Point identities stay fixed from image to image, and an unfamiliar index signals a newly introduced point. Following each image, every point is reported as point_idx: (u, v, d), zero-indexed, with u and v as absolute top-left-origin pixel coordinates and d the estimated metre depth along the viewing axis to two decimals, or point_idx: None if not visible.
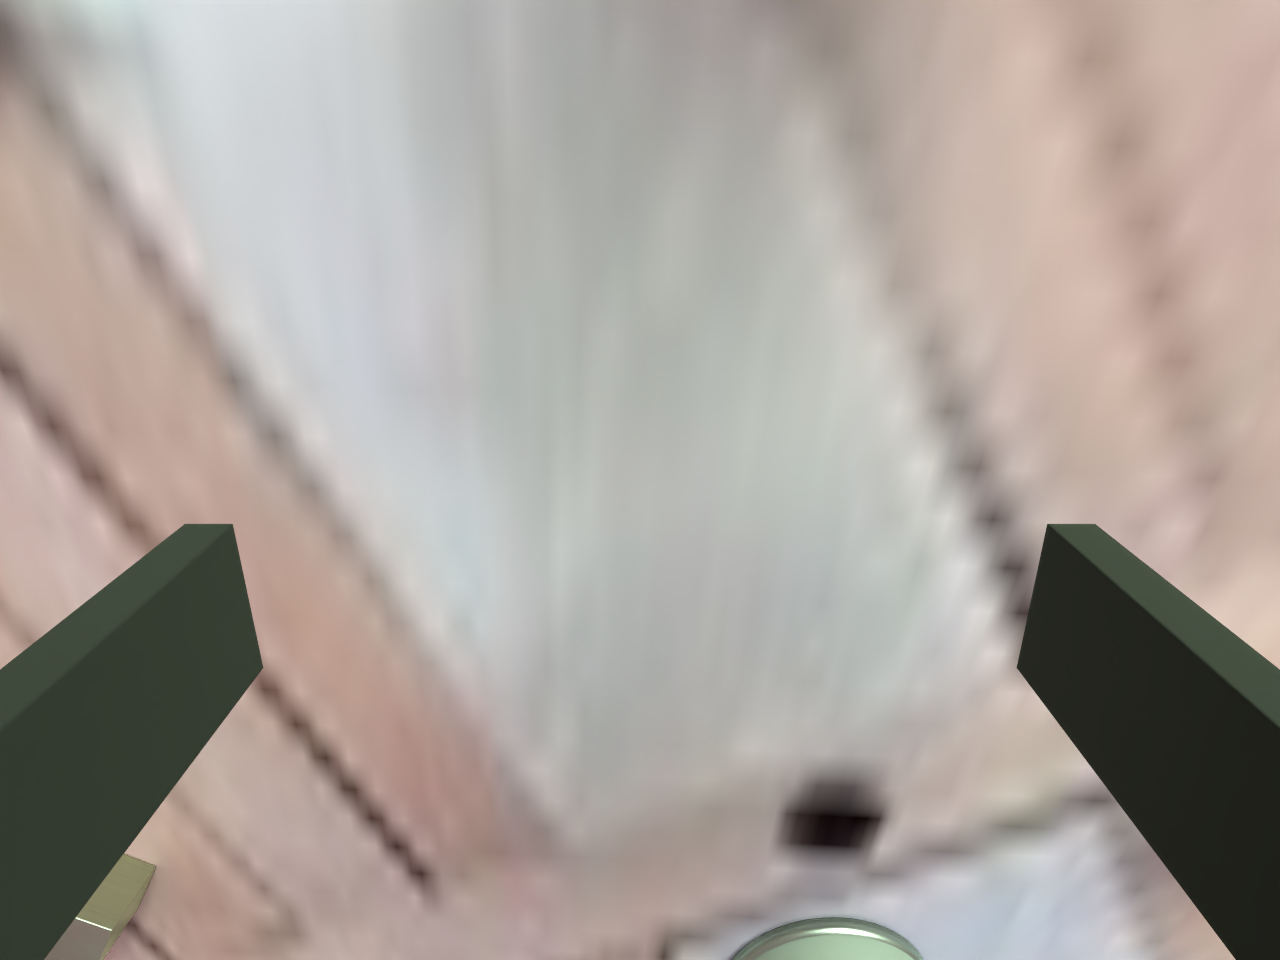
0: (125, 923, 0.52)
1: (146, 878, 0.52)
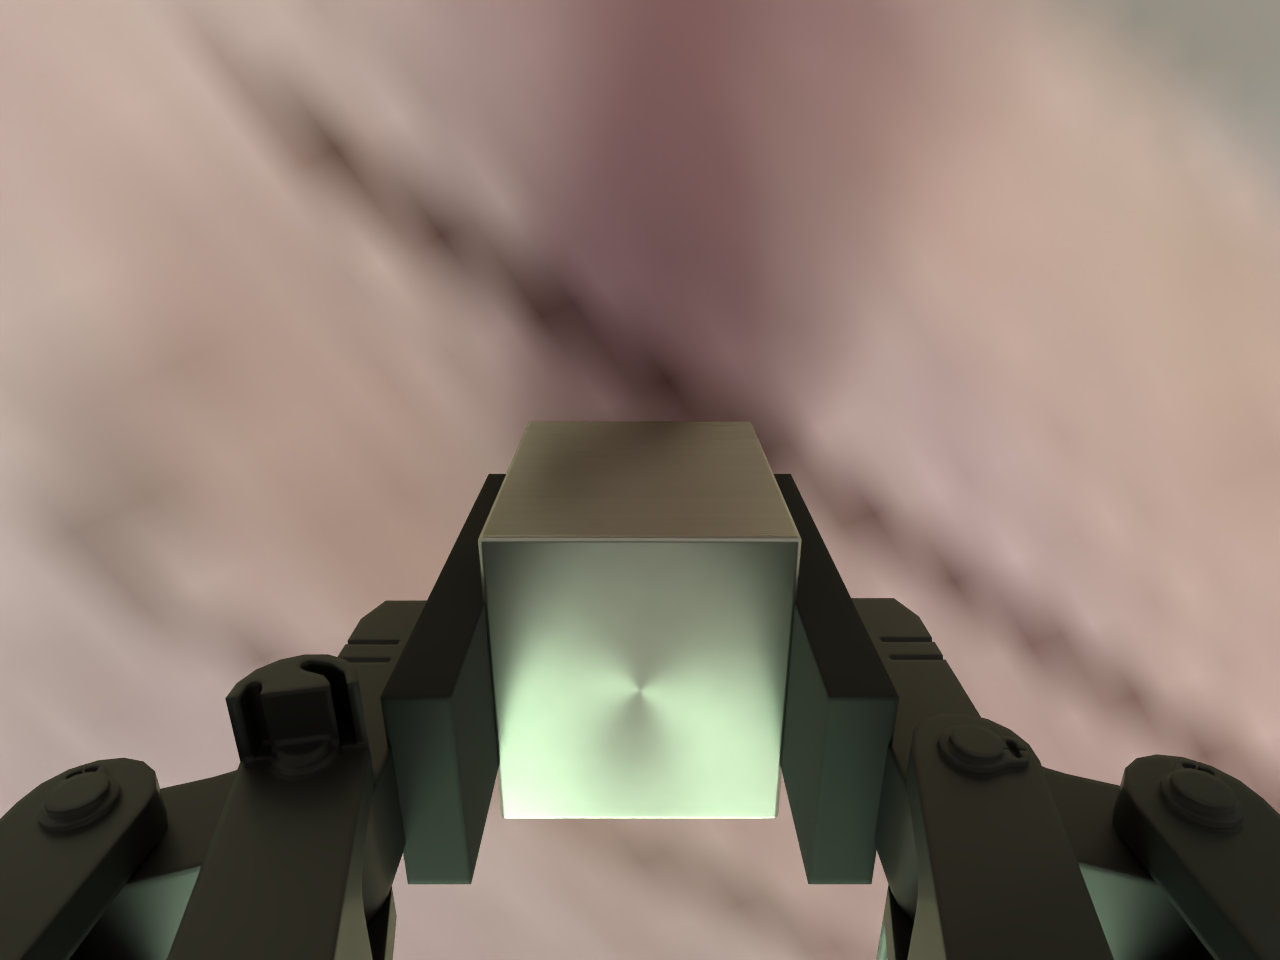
0: None
1: None
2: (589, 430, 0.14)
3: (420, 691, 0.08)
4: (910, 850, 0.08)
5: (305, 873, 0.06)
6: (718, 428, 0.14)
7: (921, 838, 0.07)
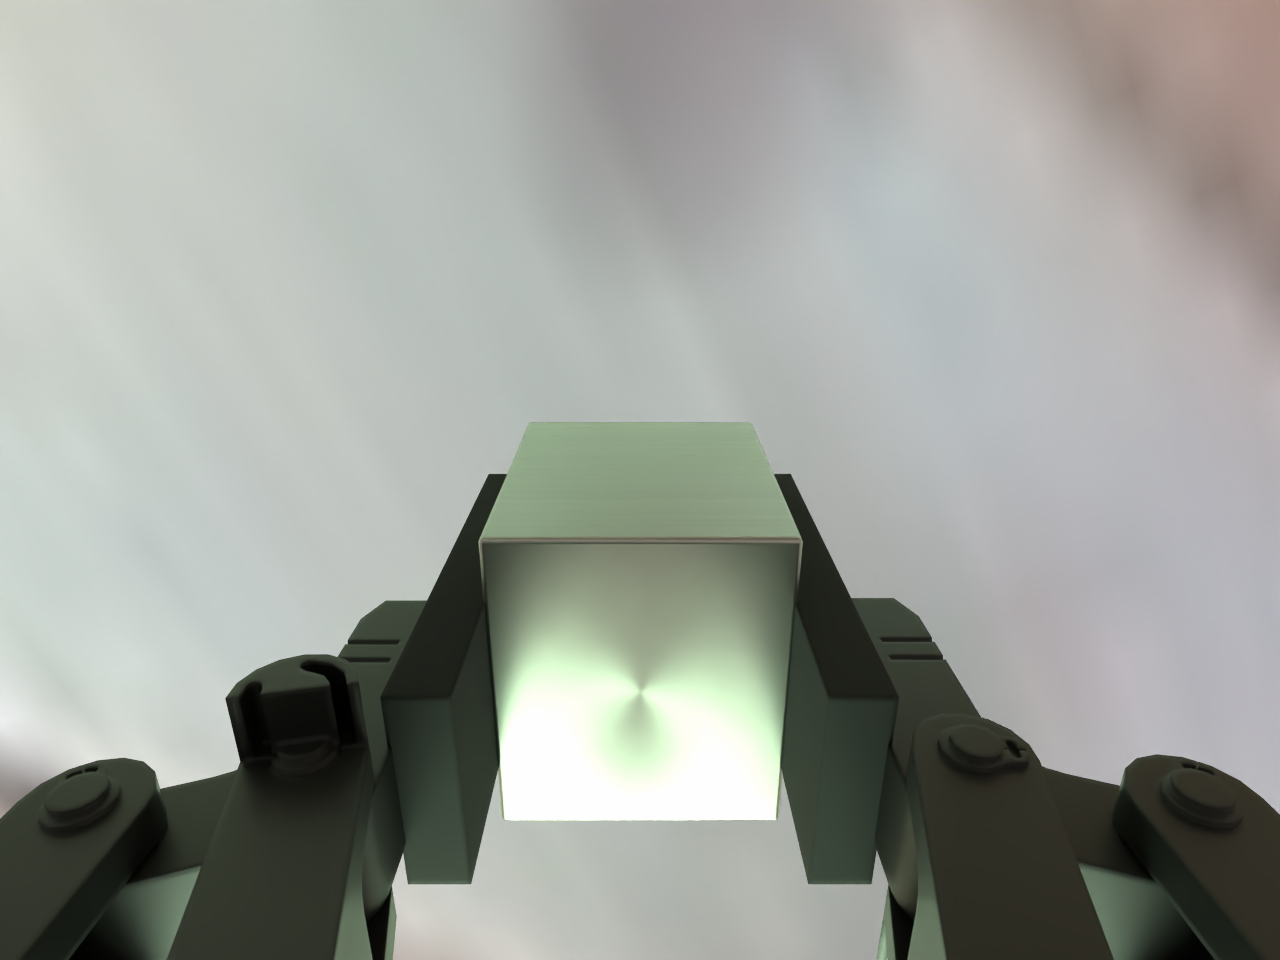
0: None
1: None
2: (589, 431, 0.14)
3: (420, 691, 0.08)
4: (910, 850, 0.08)
5: (305, 873, 0.06)
6: (719, 429, 0.14)
7: (921, 838, 0.07)
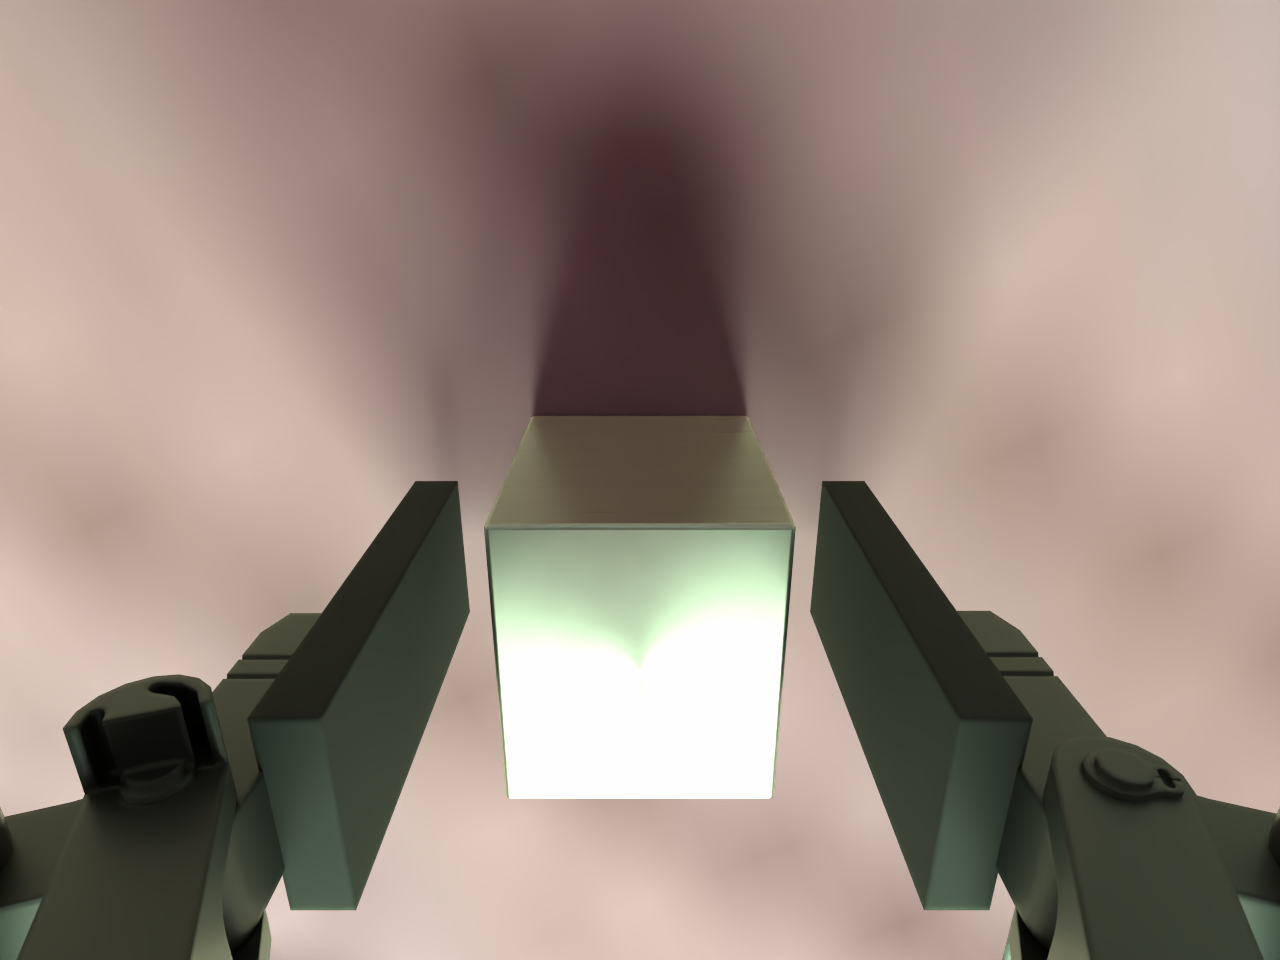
0: None
1: None
2: (590, 424, 0.14)
3: (290, 712, 0.08)
4: (1045, 873, 0.08)
5: (155, 901, 0.06)
6: (716, 422, 0.14)
7: (1063, 860, 0.07)
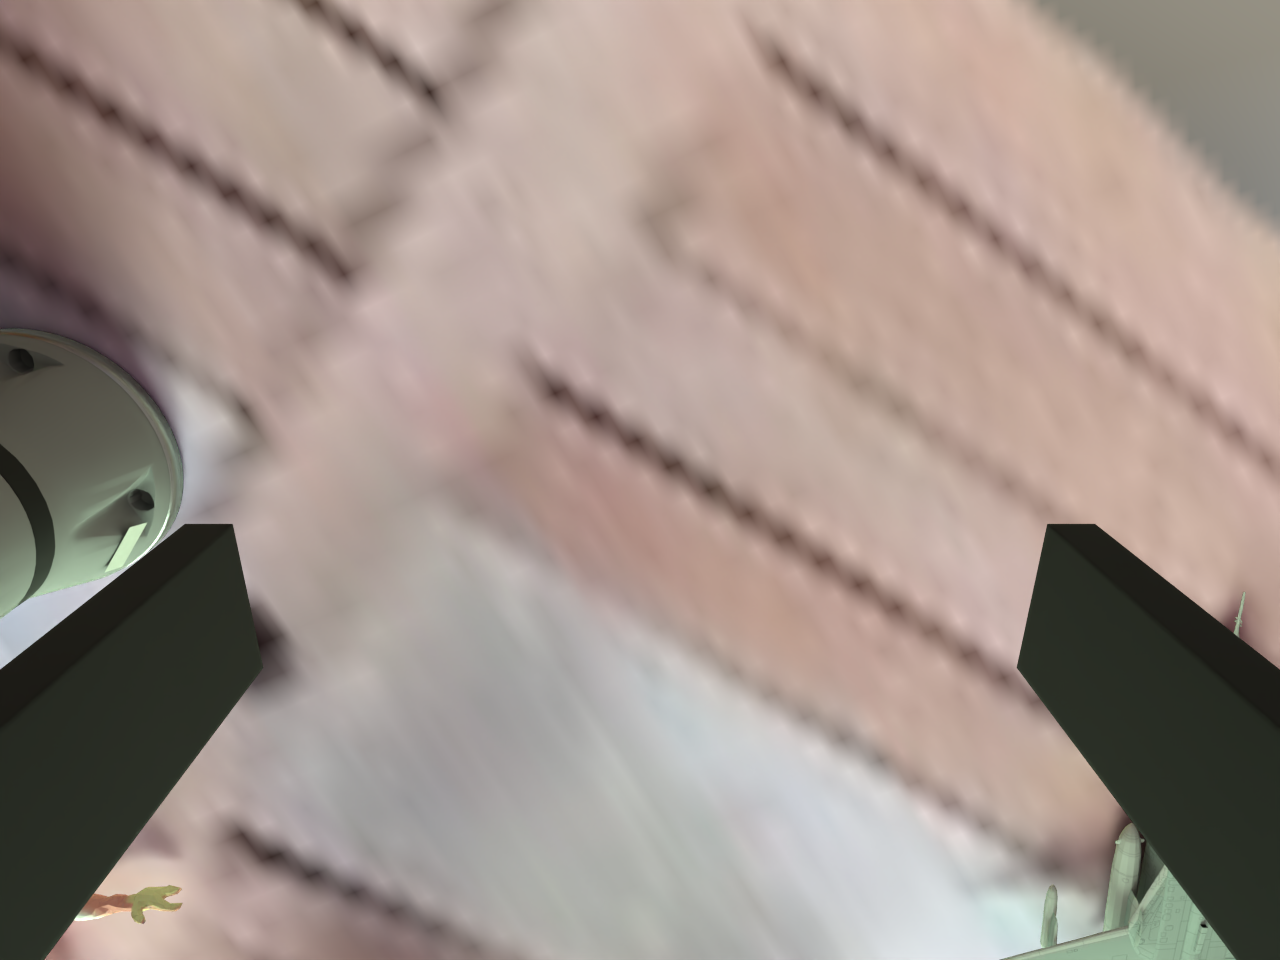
0: None
1: None
2: None
3: None
4: None
5: None
6: None
7: None
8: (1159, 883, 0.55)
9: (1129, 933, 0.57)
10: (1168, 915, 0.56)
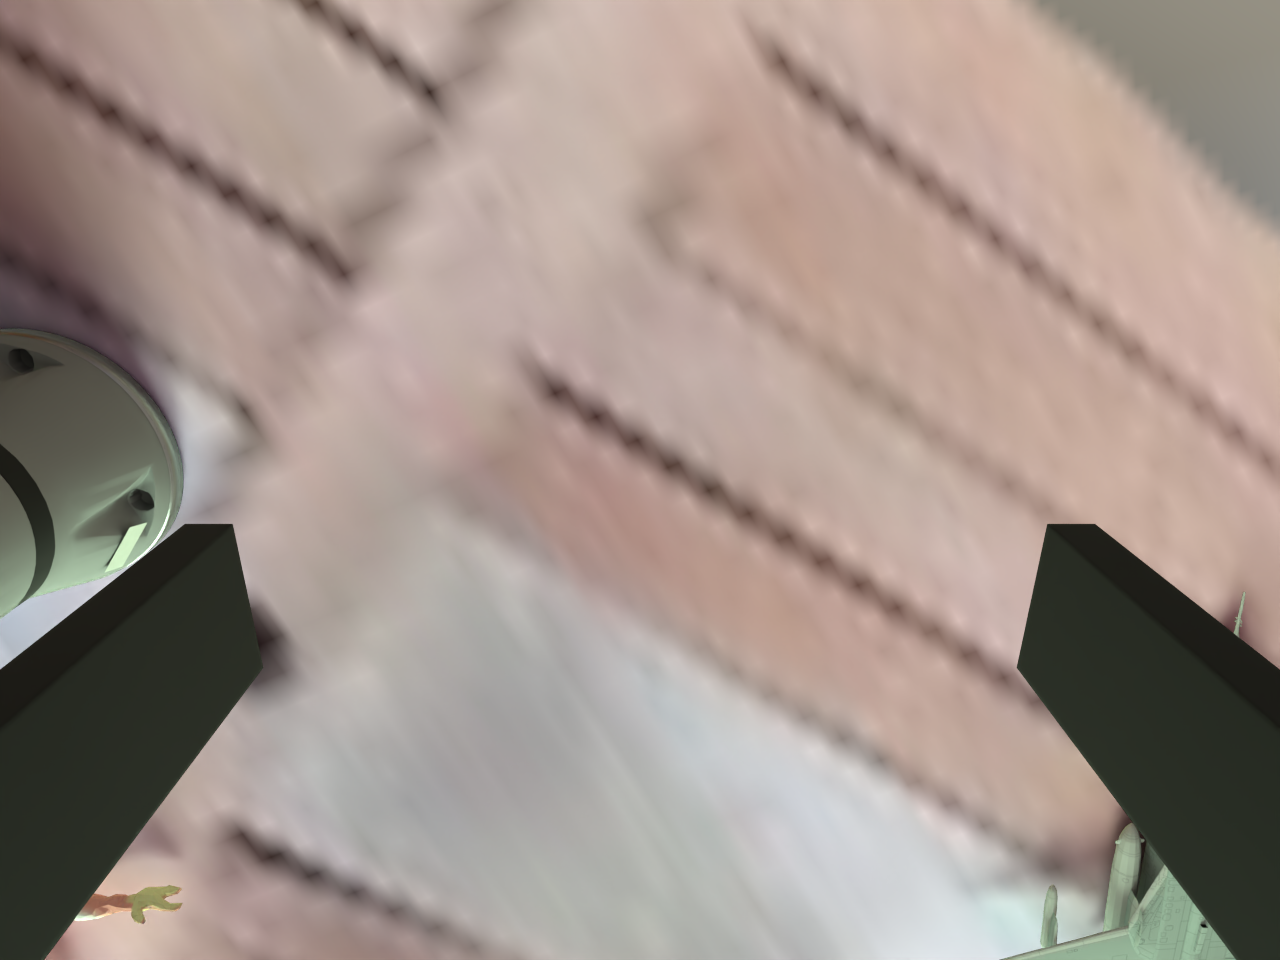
0: None
1: None
2: None
3: None
4: None
5: None
6: None
7: None
8: (1159, 883, 0.55)
9: (1129, 933, 0.57)
10: (1168, 915, 0.56)
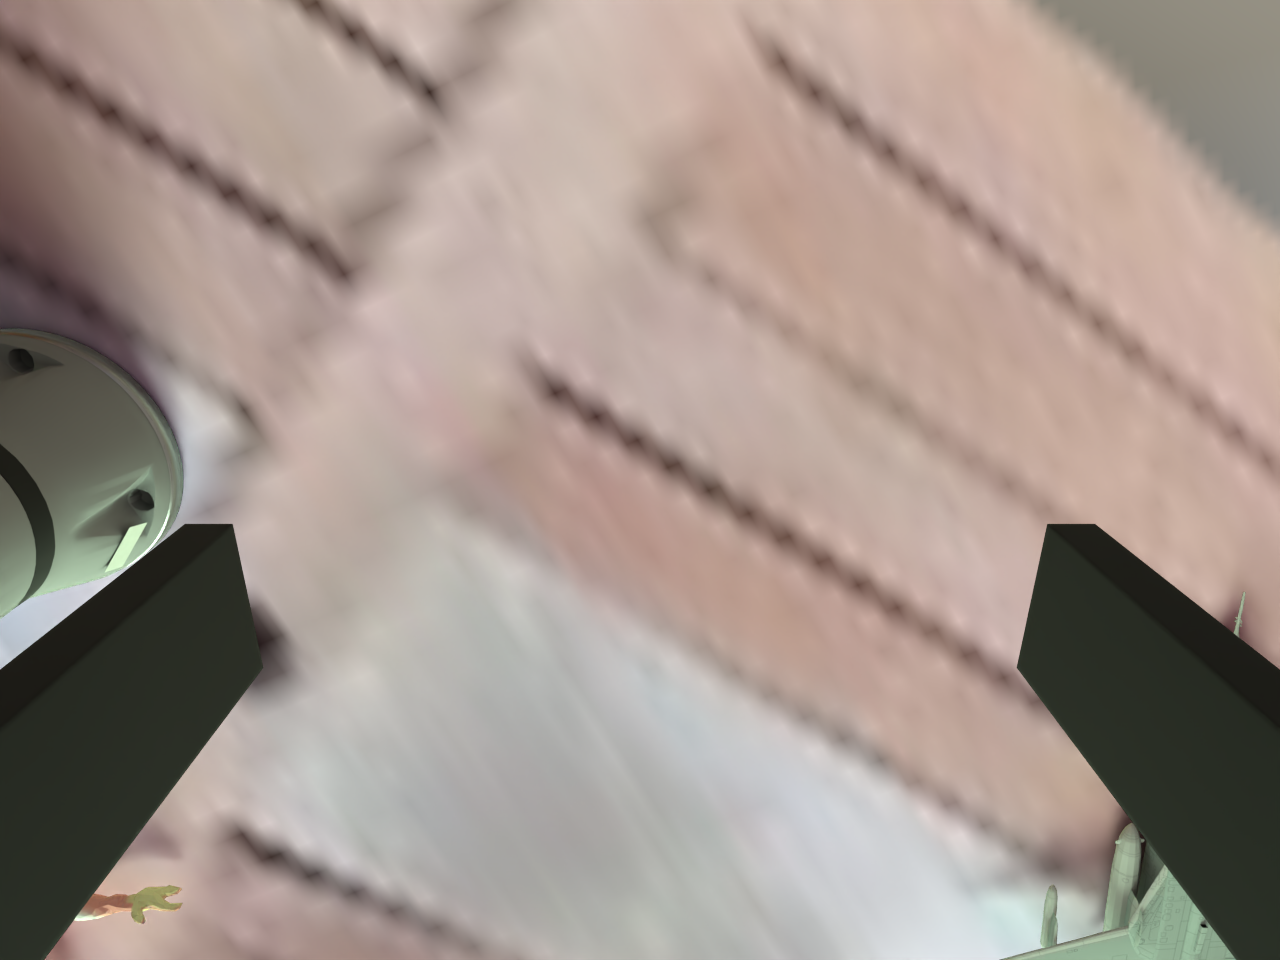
0: None
1: None
2: None
3: None
4: None
5: None
6: None
7: None
8: (1159, 883, 0.55)
9: (1129, 933, 0.57)
10: (1168, 915, 0.56)
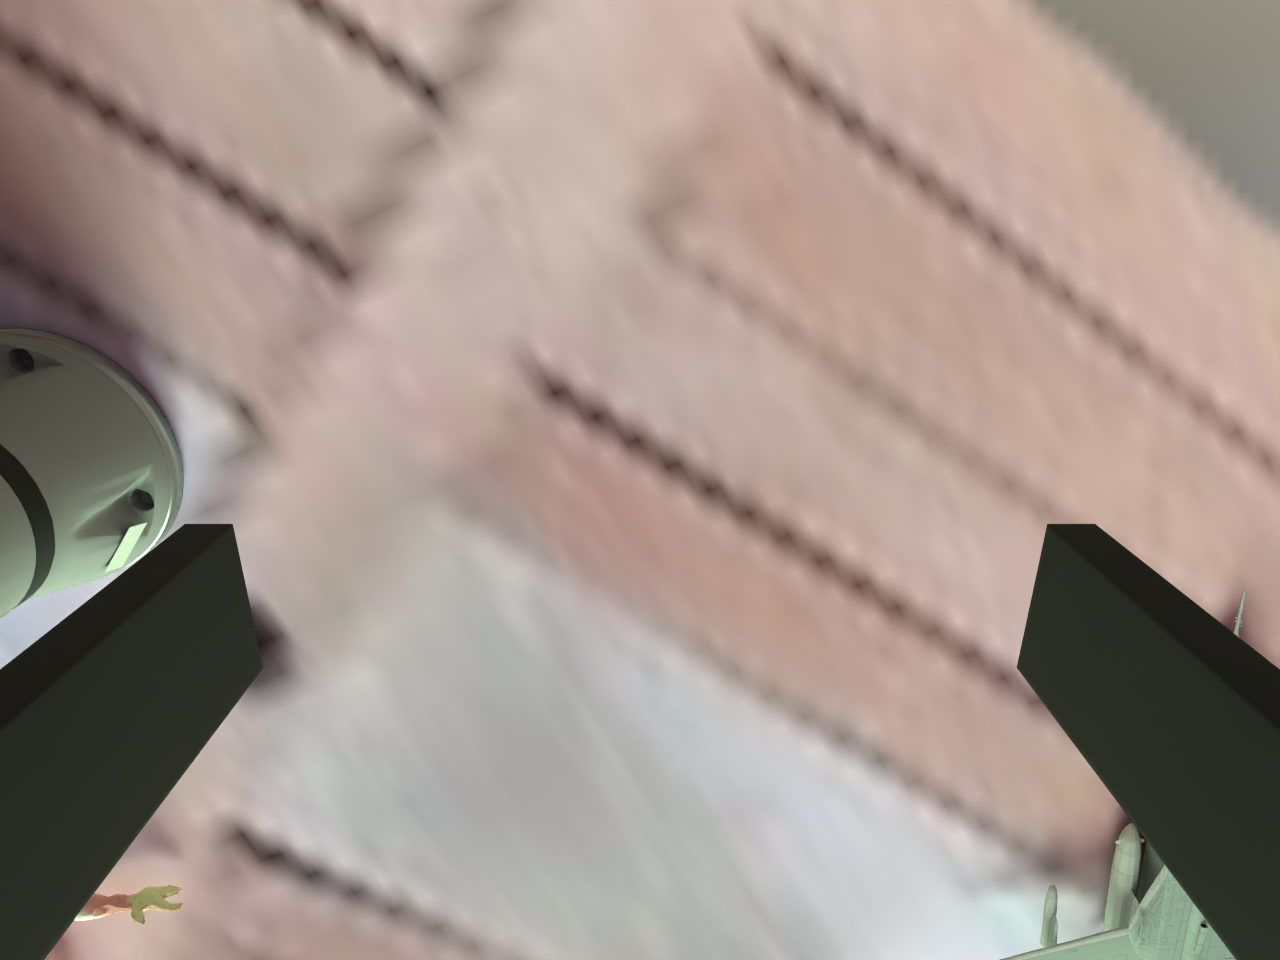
0: None
1: None
2: None
3: None
4: None
5: None
6: None
7: None
8: (1159, 883, 0.55)
9: (1129, 933, 0.57)
10: (1168, 915, 0.56)
